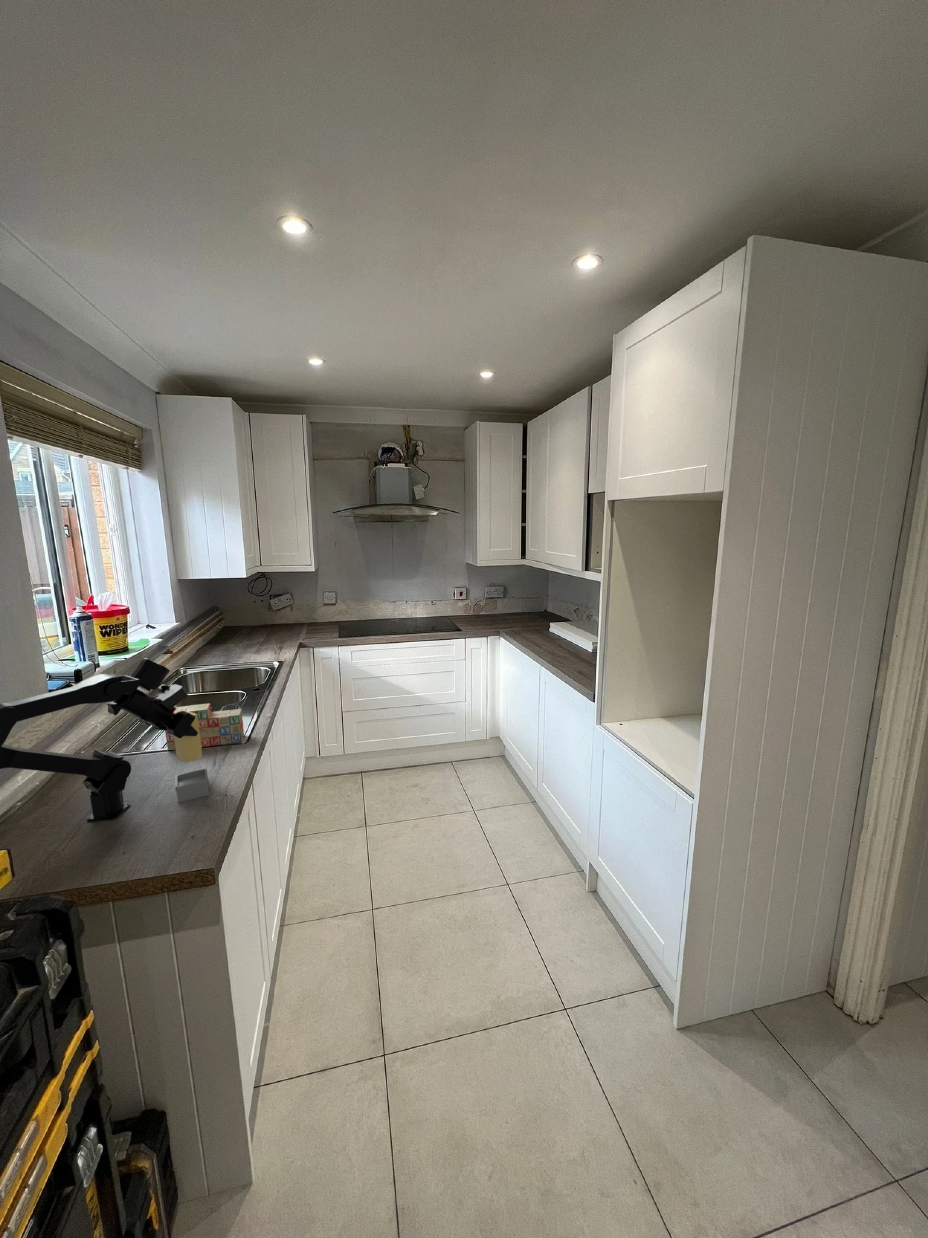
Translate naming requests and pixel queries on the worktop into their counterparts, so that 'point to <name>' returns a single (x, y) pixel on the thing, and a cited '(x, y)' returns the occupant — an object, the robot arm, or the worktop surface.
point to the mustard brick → (189, 744)
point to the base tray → (192, 785)
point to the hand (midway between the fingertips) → (191, 732)
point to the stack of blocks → (213, 725)
